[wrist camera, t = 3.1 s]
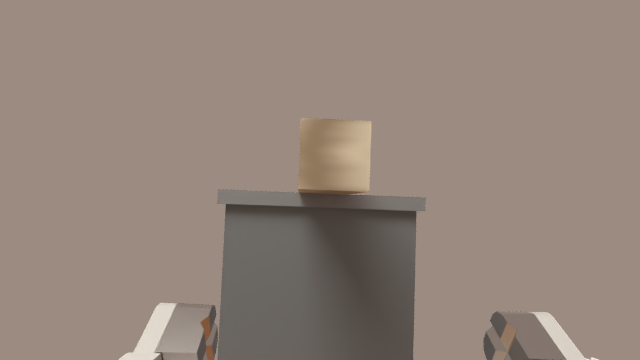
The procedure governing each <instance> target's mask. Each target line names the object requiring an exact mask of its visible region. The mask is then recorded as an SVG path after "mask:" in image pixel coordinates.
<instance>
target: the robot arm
mask: <svg viewBox="0 0 640 360" xmlns="http://www.w3.org/2000/svg"><path fill="white" fill-rule="evenodd" d="M215 317H216V310H215V306H214V305H203V304H182V303H178V304H176V303H160V304H159V305H158V306H157V307H156V308H155V310H154V312H153V314H152V316H151V318H150V320H149V322H148V324H147V326H146V328H145V331H144V332H143V334H142V336H141V338H140V340H139V342H138V344H137V346H136V348H135V350H134V352H133V353H126V354H125V355H124V356H123V357H121V358H120V359H119V360H214V357H215V353H216V347H217V339H218V337H217V336H218V330H217V325H216V324H215V323H214V320H215ZM490 321H491V323H492V325H493V327H492V328H490V329H489V330H488V331H486V334H485V337H484V352H485V355H486V358H487V360H586V359H585V358H584V357H583V355H582V354H581V353H580V351H579V350H578V349H577V348H576V346H575V345H574V344H573V342H572V341H571V340H570V338H569V337H568V336H567V335H566V333H565V332H564V331H563V329H562V328H561V327H560V325H559V324H558V323H557V322H556V320H555V319H554V318H553V316H552V315H550V314H549V313H547V312H498V311H496V312H495V313H494V314H493V315H492V317H491V320H490Z"/></svg>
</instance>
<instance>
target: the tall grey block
mask: <svg viewBox="0 0 640 360" xmlns="http://www.w3.org/2000/svg"><path fill="white" fill-rule="evenodd" d="M425 200H426V198H421V197H394V196H371V195H345V194H320V193H294V192H270V191H269V192H267V191H243V190H218V201H217V203H218V204H226V212H225V232H224V250H223V269H222V288H221V306H220V307H221V309H220V325H219V343H218V344H219V345H218V360H413V335H414V291H415V248H416V247H415V246H416V211H425Z"/></svg>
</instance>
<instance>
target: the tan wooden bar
mask: <svg viewBox="0 0 640 360" xmlns="http://www.w3.org/2000/svg"><path fill="white" fill-rule="evenodd" d="M370 153H371V121H354V120H335V119H315V118H301V129H300V154H299V177H298V191H299V193H320V194H345V195H348V194H356V193H363V192H369V185H370Z"/></svg>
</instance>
